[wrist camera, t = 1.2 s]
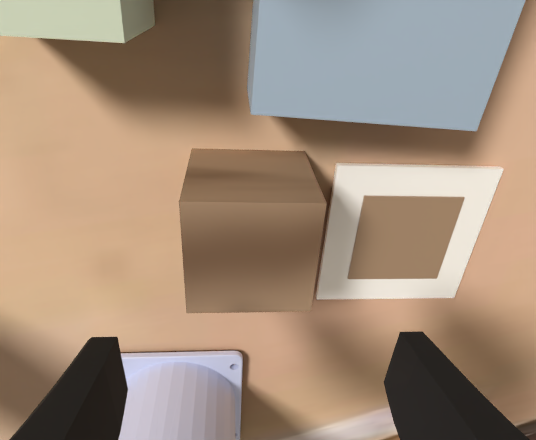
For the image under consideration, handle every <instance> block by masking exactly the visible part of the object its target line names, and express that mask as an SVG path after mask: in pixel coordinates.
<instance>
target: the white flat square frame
mask: <svg viewBox="0 0 536 440" xmlns="http://www.w3.org/2000/svg"><path fill="white" fill-rule="evenodd" d="M503 170H504V169H503V168H502V167H500V166H459V165H413V164H366V163H336V166H335V173H334V179H333V186H332V193H331V199H330V206H329V212H328V219H327V225H326V232H325V239H324V245H323V252H322V258H321V265H320V271H319V278H318V284H317V291H316V299H403V298H454V297H455V294H456V292H457V289H458V286H459V284H460V281H461V279H462V276H463V273H464V271H465V268H466V266H467V263H468V260H469V258H470V255H471V253H472V250H473V247H474V245H475V242H476V240H477V237H478V234H479V232H480V229H481V227H482V224H483V221H484V219H485V216H486V214H487V211H488V208H489V206H490V203H491V201H492V198H493V195H494V193H495V190H496V188H497V185H498V182H499V180H500V177H501V175H502V172H503Z"/></svg>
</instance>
